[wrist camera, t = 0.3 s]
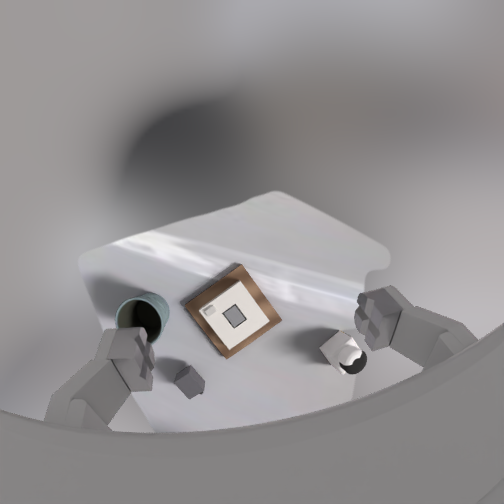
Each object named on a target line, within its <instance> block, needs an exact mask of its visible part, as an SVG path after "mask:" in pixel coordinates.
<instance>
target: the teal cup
mask: <svg viewBox="0 0 504 504" xmlns="http://www.w3.org/2000/svg"><path fill="white" fill-rule="evenodd" d="M169 313H170V312H169V307H168V304H167V302H166V301H165V300H164V299H163V298H162V297H161V296H159V295H157V294H154V293H148V294H144V295H142V296H137V297H134V298H130V299H128V300H125V301H124V302H123V303H122V304H121V305H120V306H119V308H118V309H117V311H116V315H115V324H116V328H117V329H118V328H133V327H143V328H144V329H145V331H146V333H147V339H146V341H148V342H149V343H151V345H153V344H154V343H155V342H156V341H157V340H158V339H159V338H160V336H161V334H162V332H163V329H164V327H165V324H166V323H167V321H168V318H169Z"/></svg>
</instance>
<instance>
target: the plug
mask: <svg viewBox="0 0 504 504" xmlns="http://www.w3.org/2000/svg"><path fill="white" fill-rule="evenodd" d="M174 383H175V384H176V386H177V387H178V388H179V389H180V390H181V391H182V392H183V393H184V394H185V395H186V397H187V398H188V399H191V398H193V397H194V396H196V395H198V394H202V393H203V391H204V387H205V381H204V380H203V379H202V377H201V376H200V375H199V374H198V373H197V372H196V370H195V369H194V368H193V367H192V366H191V365H190V366H189V367H187V368H186V369H184V370H182V371H181V372H179V373H178V374H177V375H176V378H175V381H174Z"/></svg>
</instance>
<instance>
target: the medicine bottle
mask: <svg viewBox="0 0 504 504" xmlns="http://www.w3.org/2000/svg"><path fill="white" fill-rule="evenodd" d="M319 349H320V350H321V351H322V353H323V354H324V356H325V357H326V358H327V360H328V361H329V362H330V364H331V365H332V366H333V367H334V368H335V369H336V370H337V371H339V372H340V373H341V374H342V375H344V374H345V373H346V372H347V373H348V374H357V373H359V372H360V371H361V370H362V369H363V368H364V367H365V365H366V362H367V356H366V354H365V352H364V351H362V350H361V349H359V347H358V345H357V344H356V342H355V341H354V339H353V338H352V337H351V336H349V335H347V334H346V333H344V332H342V331H339V332H337V333H336V334H335V335H334V336H333V337H331V338H330V339H329V340H328V341H327V342H325V343H324V344H323V345H322V346H320V347H319Z"/></svg>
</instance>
